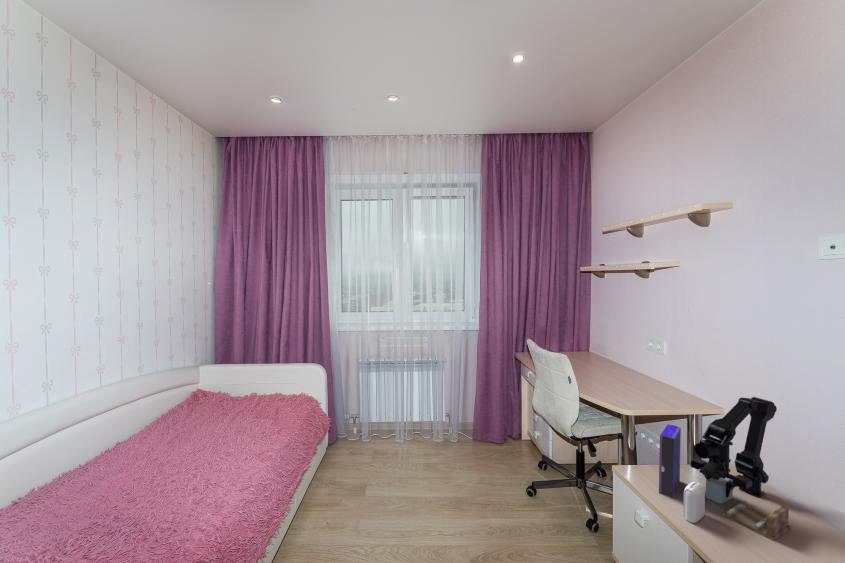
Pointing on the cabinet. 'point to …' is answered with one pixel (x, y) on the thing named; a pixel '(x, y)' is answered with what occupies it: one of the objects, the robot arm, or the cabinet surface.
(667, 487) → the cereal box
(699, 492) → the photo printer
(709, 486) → the light blue block
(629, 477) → the cabinet surface
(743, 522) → the cleat stand
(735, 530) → the cabinet surface
